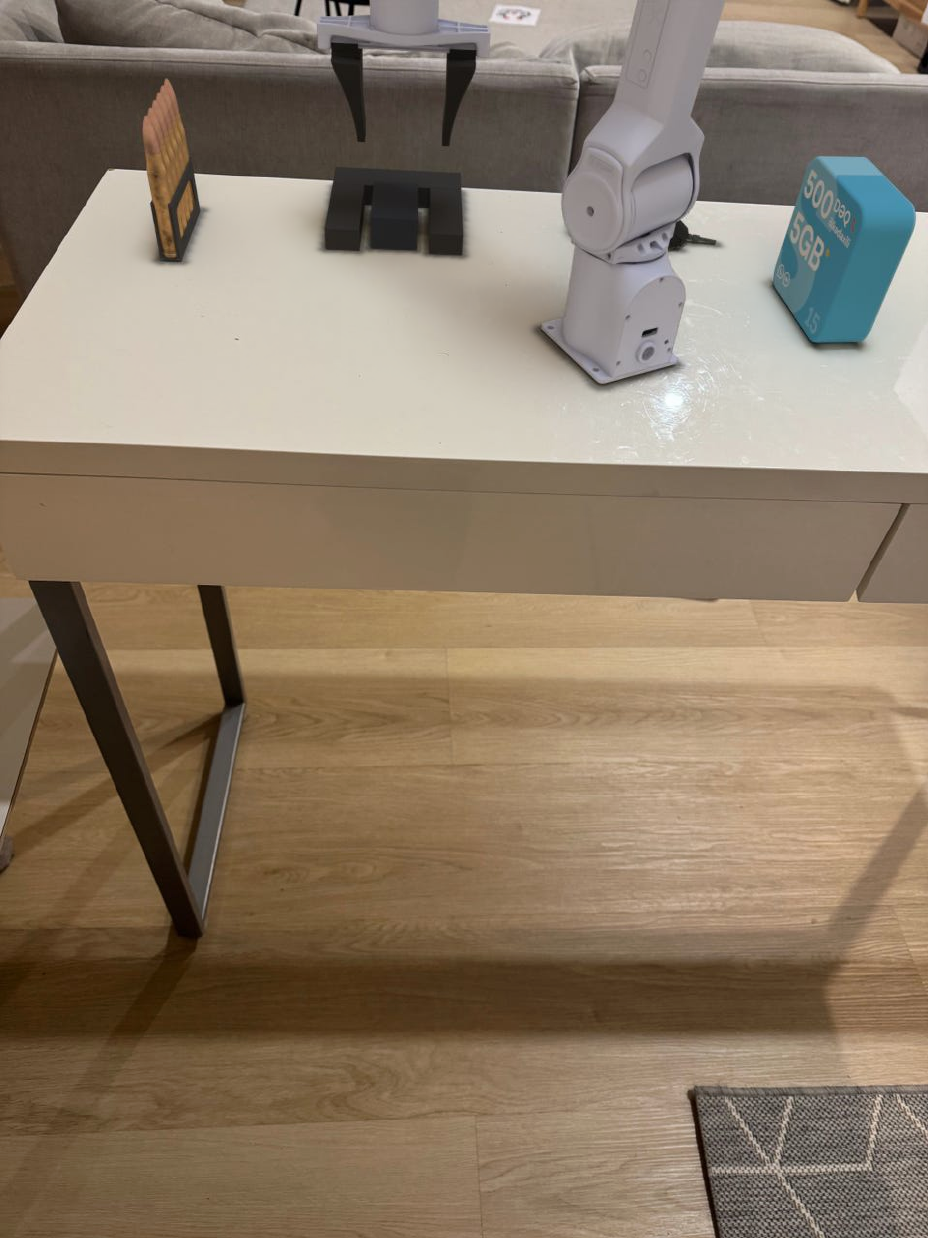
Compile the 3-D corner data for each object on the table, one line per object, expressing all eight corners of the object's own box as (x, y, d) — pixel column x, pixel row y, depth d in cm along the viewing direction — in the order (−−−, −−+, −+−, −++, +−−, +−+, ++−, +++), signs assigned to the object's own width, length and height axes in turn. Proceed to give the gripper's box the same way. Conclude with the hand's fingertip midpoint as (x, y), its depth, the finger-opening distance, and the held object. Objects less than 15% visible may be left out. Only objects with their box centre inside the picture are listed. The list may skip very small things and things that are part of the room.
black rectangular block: (416, 250, 87) (417, 219, 84) (370, 248, 86) (370, 217, 84) (418, 213, 92) (418, 182, 90) (374, 210, 92) (374, 180, 90)
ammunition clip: (181, 208, 90) (158, 73, 81) (200, 209, 90) (179, 75, 81) (160, 260, 83) (131, 119, 74) (181, 261, 83) (154, 120, 74)
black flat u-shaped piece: (462, 255, 87) (463, 234, 85) (325, 249, 86) (324, 228, 84) (459, 192, 96) (460, 172, 94) (336, 186, 95) (335, 166, 94)
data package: (769, 281, 87) (812, 149, 78) (813, 281, 87) (861, 150, 78) (814, 349, 79) (868, 212, 70) (863, 349, 79) (923, 212, 70)
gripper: (492, -47, 76) (481, 127, 86) (318, -58, 75) (327, 119, 85) (496, -24, 71) (483, 156, 81) (310, -35, 70) (321, 149, 80)
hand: (403, 139), depth 83 cm, fingers open, 7 cm apart
